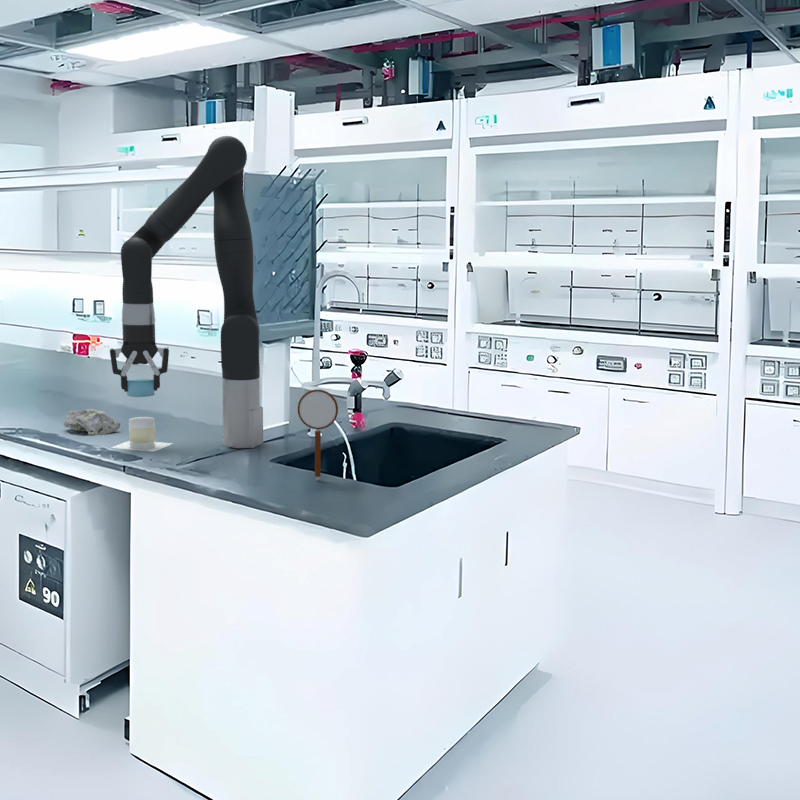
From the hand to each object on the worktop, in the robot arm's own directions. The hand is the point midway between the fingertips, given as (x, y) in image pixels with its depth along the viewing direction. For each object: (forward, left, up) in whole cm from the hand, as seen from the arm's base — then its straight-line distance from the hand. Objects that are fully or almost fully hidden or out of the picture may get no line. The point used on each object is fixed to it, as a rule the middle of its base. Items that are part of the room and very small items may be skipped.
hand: (140, 390), depth 210 cm
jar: (0, 0, -14) cm, 14 cm away
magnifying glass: (-51, +14, -15) cm, 55 cm away
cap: (0, 0, -1) cm, 1 cm away
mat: (+1, -2, -15) cm, 15 cm away
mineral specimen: (+22, -12, -15) cm, 29 cm away
